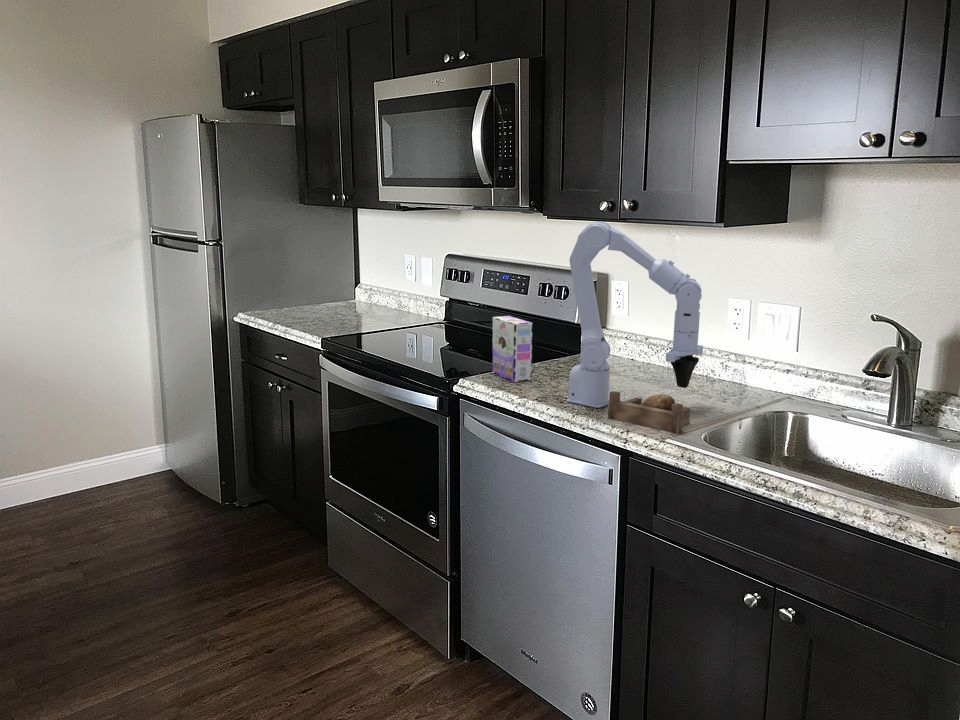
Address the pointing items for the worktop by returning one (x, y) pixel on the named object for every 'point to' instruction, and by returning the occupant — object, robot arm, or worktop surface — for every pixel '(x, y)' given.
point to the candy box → (512, 348)
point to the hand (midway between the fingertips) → (682, 386)
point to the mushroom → (660, 402)
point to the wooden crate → (647, 414)
